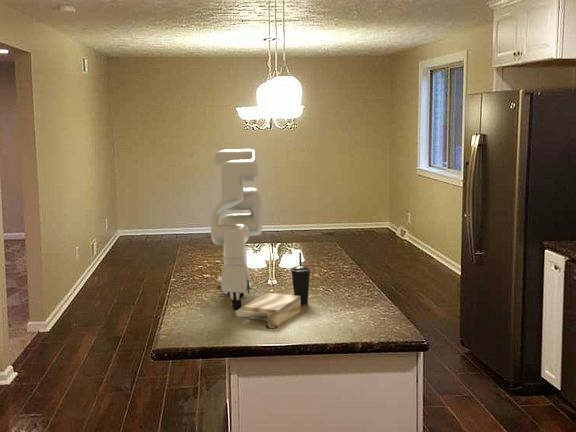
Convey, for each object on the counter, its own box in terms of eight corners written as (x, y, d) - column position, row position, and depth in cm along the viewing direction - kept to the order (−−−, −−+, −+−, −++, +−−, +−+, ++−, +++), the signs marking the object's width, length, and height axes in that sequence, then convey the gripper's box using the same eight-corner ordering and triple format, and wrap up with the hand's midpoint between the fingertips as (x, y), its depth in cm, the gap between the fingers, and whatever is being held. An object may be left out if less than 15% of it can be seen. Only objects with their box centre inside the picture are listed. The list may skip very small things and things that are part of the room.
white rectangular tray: (236, 316, 264) (235, 311, 263) (244, 311, 270) (243, 305, 270) (271, 319, 259) (270, 314, 258) (278, 314, 265) (278, 308, 265)
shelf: (242, 322, 256) (241, 306, 255) (267, 307, 274) (266, 292, 273) (278, 326, 250) (277, 310, 249) (300, 311, 268) (300, 295, 267)
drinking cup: (299, 299, 284) (298, 250, 281) (315, 302, 279) (314, 252, 276) (287, 304, 278) (286, 253, 275) (303, 307, 273) (301, 255, 270)
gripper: (212, 262, 264) (214, 310, 267) (248, 264, 258) (250, 314, 261) (222, 258, 271) (224, 305, 274) (257, 260, 265) (259, 308, 267)
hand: (237, 309), depth 267 cm, fingers closed
